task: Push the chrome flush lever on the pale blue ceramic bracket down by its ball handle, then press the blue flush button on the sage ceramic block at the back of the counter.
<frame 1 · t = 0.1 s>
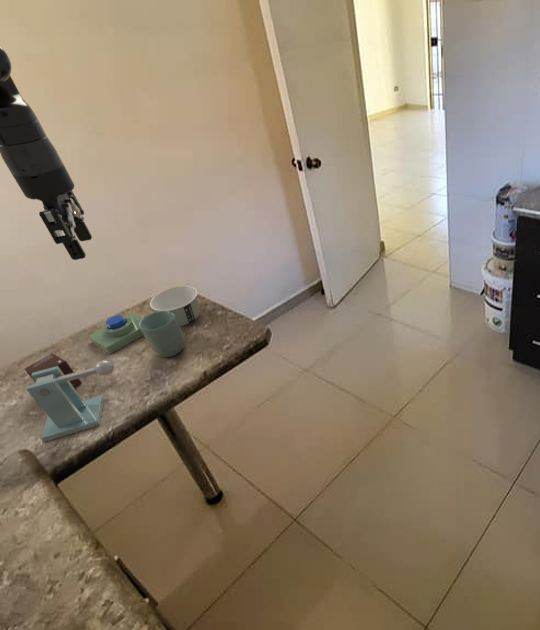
hand: (83, 248, 86), 32 cm above the countertop, tool pointing down, fingers open, 8 cm apart
flush button: (116, 322, 113), point 4 cm above the countertop, slide at 0.1 cm
box: (62, 388, 101), on the countertop
lever bracket: (75, 419, 93), on the countertop
flush lever: (77, 375, 88), point 11 cm above the countertop, hinge at 0.0°
cup: (172, 351, 110), on the countertop
food container: (182, 317, 122), on the countertop
button block: (123, 335, 116), on the countertop
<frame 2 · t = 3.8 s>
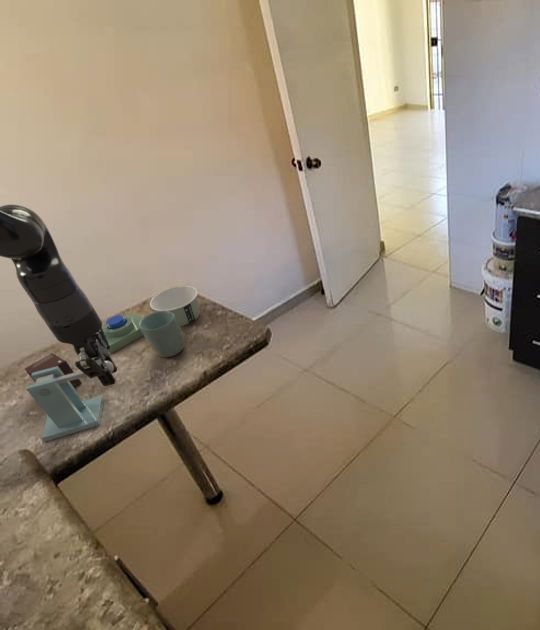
hand: (110, 377, 91), 8 cm above the countertop, tool pointing down, fingers closed on flush lever, 3 cm apart
flush lever: (77, 375, 88), point 11 cm above the countertop, hinge at 0.0°, touching gripper
everything else where it was.
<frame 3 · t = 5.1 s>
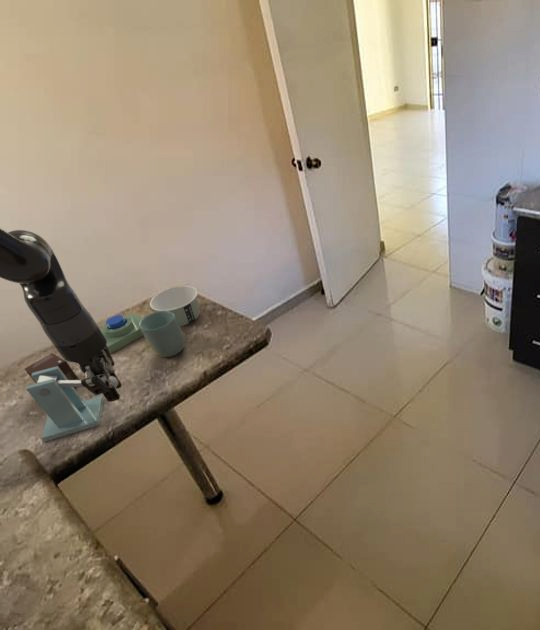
hand: (115, 393, 93), 4 cm above the countertop, tool pointing down, fingers closed on flush lever, 3 cm apart
flush lever: (79, 383, 89), point 9 cm above the countertop, hinge at -24.5°, touching gripper
everything else where it was.
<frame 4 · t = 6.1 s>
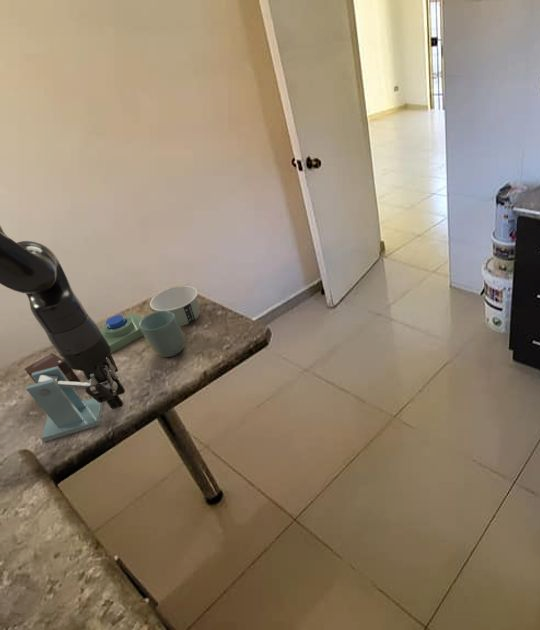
hand: (118, 399, 95), 2 cm above the countertop, tool pointing down, fingers open, 3 cm apart
flush lever: (79, 385, 89), point 8 cm above the countertop, hinge at -30.5°
everything else where it was.
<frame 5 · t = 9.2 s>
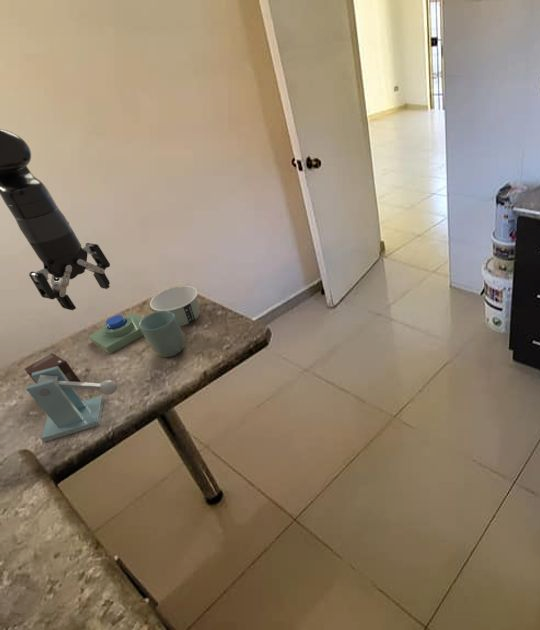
hand: (89, 298, 97), 18 cm above the countertop, tool pointing down, fingers open, 8 cm apart
nothing on the countertop moved.
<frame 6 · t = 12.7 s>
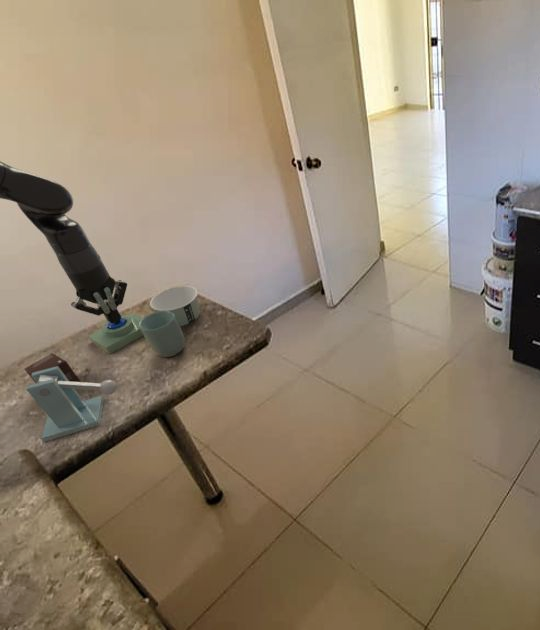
hand: (116, 321, 113), 5 cm above the countertop, tool pointing down, fingers closed
flush button: (117, 324, 113), point 4 cm above the countertop, slide at -0.7 cm, touching gripper
everything else where it was.
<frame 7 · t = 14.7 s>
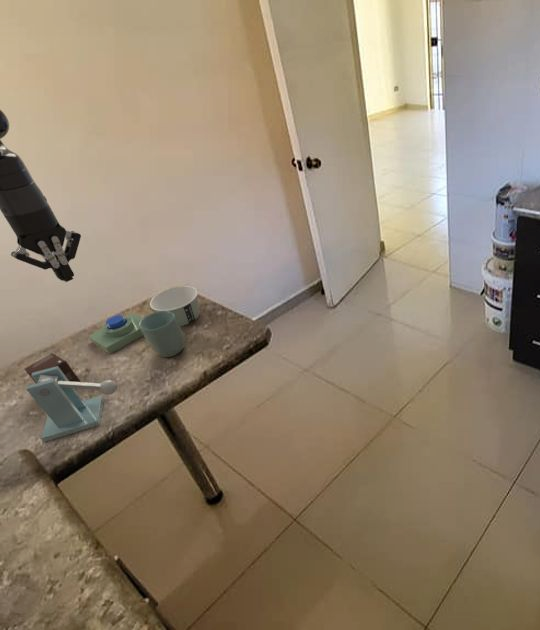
hand: (67, 279, 98), 21 cm above the countertop, tool pointing down, fingers closed
flush button: (116, 322, 113), point 4 cm above the countertop, slide at 0.1 cm
everything else where it was.
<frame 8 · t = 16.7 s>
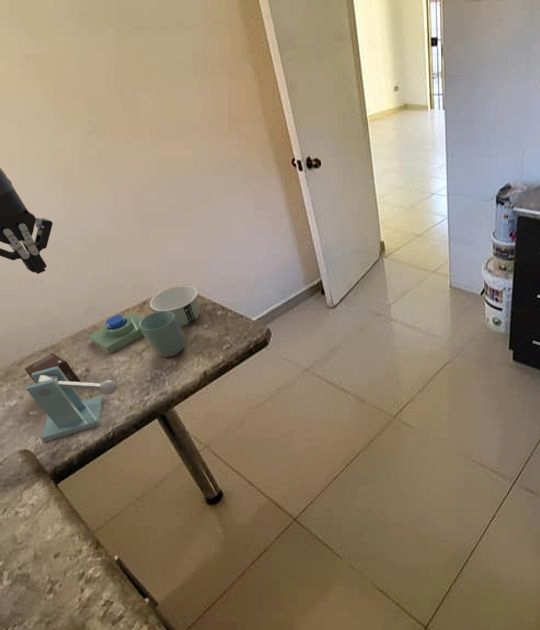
hand: (39, 271, 90), 27 cm above the countertop, tool pointing down, fingers closed
nothing on the countertop moved.
at the end: flush lever at -30° (first picture: +0°); flush button pushed in 1.1 cm at the most during the clip, back to where it started at the end; flush button slide at 0.1 cm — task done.
